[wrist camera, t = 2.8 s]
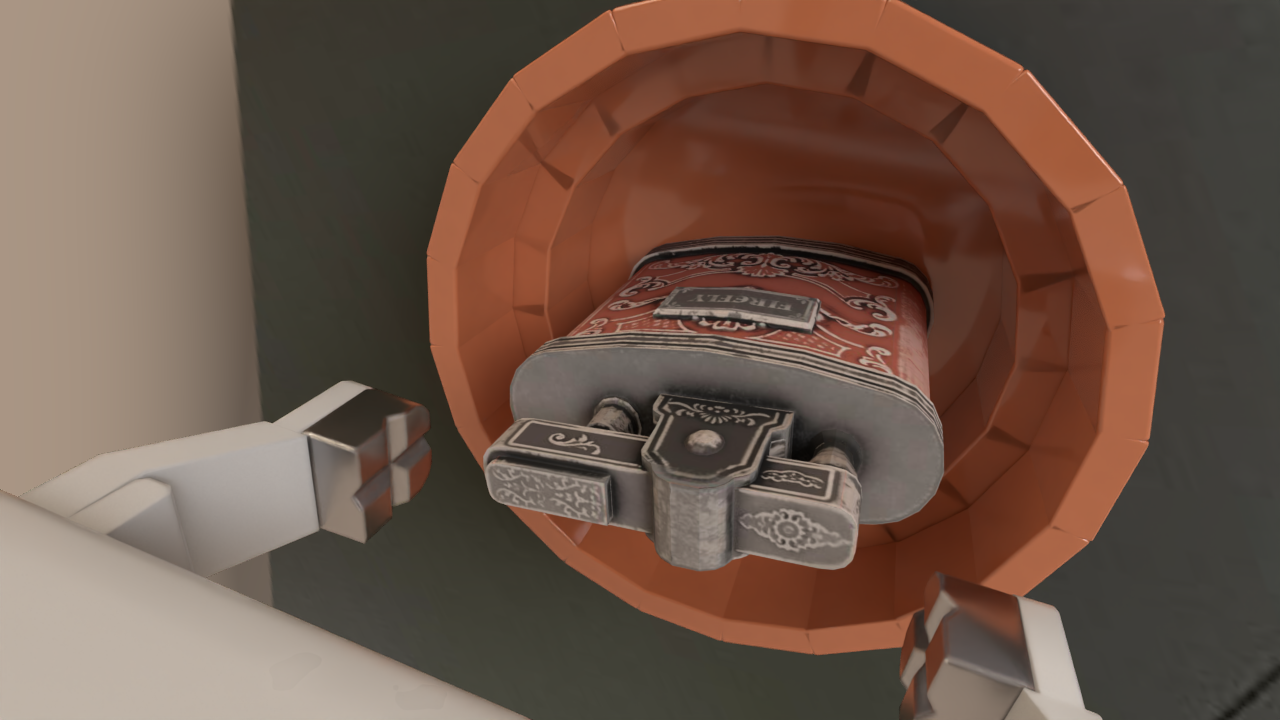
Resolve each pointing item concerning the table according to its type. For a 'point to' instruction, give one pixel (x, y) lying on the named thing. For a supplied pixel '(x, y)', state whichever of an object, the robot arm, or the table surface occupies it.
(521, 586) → the table surface
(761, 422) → the lighter
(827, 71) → the bowl
